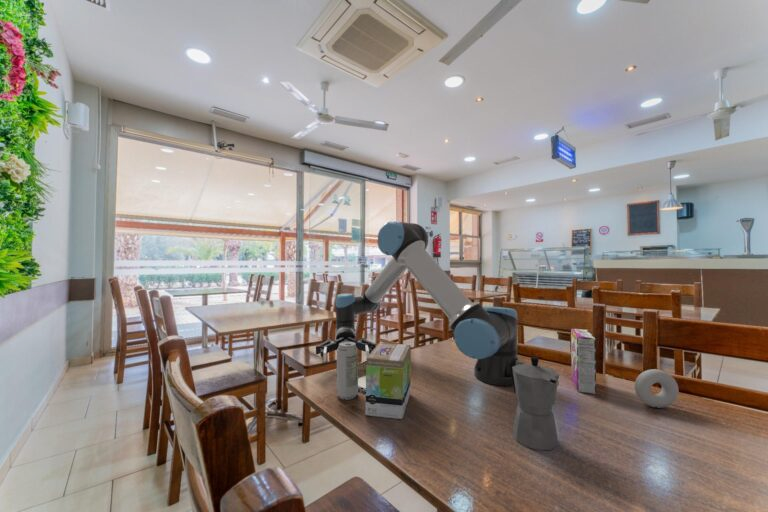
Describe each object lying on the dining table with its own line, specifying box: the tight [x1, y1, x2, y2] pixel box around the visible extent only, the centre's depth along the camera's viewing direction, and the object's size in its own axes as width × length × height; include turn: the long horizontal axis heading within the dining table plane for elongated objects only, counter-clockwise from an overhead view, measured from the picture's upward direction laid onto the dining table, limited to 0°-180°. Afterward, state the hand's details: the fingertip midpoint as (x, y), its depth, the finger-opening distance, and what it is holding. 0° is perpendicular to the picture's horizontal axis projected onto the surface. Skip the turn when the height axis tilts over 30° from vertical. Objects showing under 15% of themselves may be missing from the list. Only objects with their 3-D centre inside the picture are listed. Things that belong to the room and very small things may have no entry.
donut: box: [634, 368, 680, 409], centre depth 85 cm, size 10×4×10 cm, turn 83°
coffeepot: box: [509, 356, 560, 451], centre depth 72 cm, size 15×9×18 cm, turn 13°
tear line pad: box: [358, 374, 366, 394], centre depth 101 cm, size 10×12×1 cm
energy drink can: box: [336, 342, 359, 401], centre depth 93 cm, size 6×6×15 cm
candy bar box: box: [570, 328, 597, 395], centre depth 99 cm, size 11×5×16 cm, turn 158°
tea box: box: [364, 342, 412, 420], centre depth 87 cm, size 15×10×15 cm, turn 168°
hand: (346, 356), depth 102 cm, fingers open, 13 cm apart
